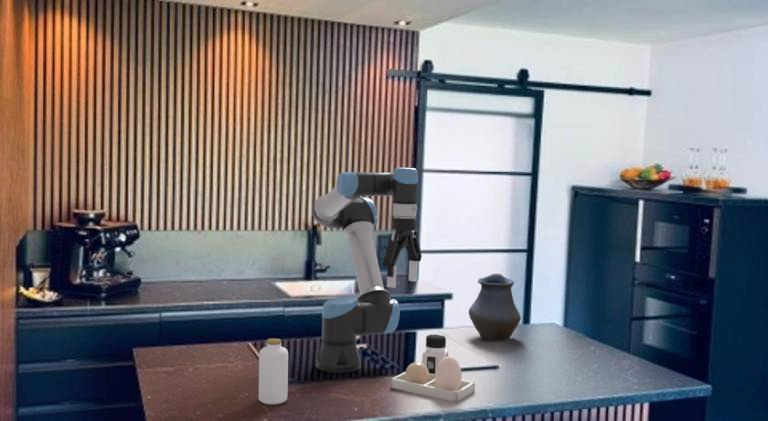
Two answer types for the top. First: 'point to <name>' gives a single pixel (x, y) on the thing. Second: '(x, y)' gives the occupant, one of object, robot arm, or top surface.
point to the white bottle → (273, 373)
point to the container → (434, 351)
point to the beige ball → (417, 373)
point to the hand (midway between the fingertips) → (402, 284)
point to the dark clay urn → (495, 308)
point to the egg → (448, 374)
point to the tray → (433, 388)
